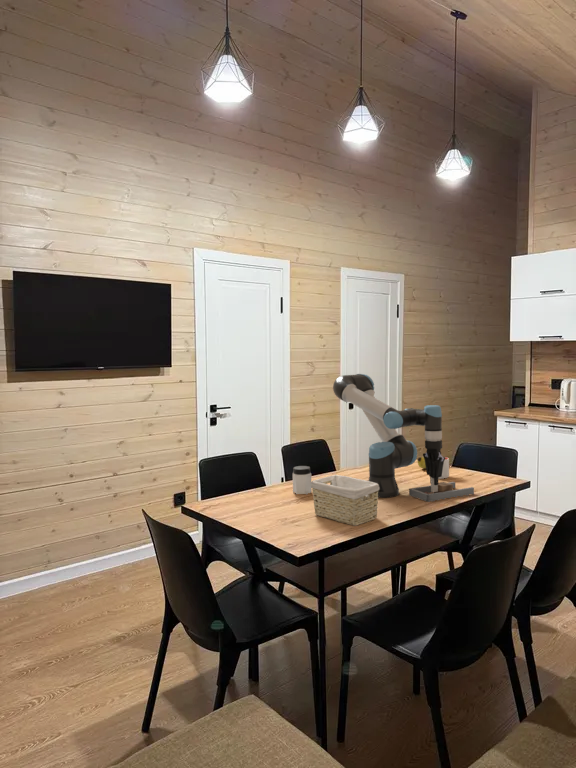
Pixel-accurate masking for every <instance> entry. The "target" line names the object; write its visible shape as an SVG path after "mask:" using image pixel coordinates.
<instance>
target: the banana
mask: <svg viewBox="0 0 576 768" xmlns="http://www.w3.org/2000/svg"><path fill="white" fill-rule="evenodd" d="M416 461H417V464H418V466H419V468H421V469H425V470H426V466H425V460H424V457H420V456H419V457H417V459H416Z"/></svg>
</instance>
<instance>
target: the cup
mask: <svg viewBox="0 0 576 768" xmlns="http://www.w3.org/2000/svg"><path fill="white" fill-rule="evenodd" d="M444 457H445V460H444V464H443V470H442V476H441V477H439V478H438V480H445V479H447V478H449V476H450V458H449V457H446V456H444ZM444 478H445V479H444Z"/></svg>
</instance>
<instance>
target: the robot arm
mask: <svg viewBox="0 0 576 768" xmlns="http://www.w3.org/2000/svg"><path fill="white" fill-rule="evenodd" d="M374 383H375V382H374V380H373V379H372V377H370V376H369V375H368V374H363V373H356V374H345V375H340V376H339V377H338V376H337V378H336V379H335V380H334V382H333V385H332V390H333V394H334V395H335V396H336V397H337V398H338V399H340V400H341V401H343V402H345V403H350V404H352V405H354V406H356V407H358V408H359V409H361V410H362V412H363V413H364V415H365V416H366V418H367V419H368V421H369V422H370V424H371V426H372V428H373V429H374V431H375V432H376V434H377V436H378V437H379V439H380V441H381V442H380V441H378V442H374V443H372V444H371V445H370V446H369V448H368V472H369V473H368V475H369V477H368V480H367V481H370V482H374V483H377V484H379V490H378V498H381V499H383V498H386V499H387V498H393V497H397V496H399V494H400V489H399V486H398V483H397V482H398V481H397V480H396V476H395V473H396V472H395V471H396V470H395V469H400V468H406V467H408V466H410V465H413V464H414V463H415V462H416V461H417V459H418V449H417V446H416V444H415V443H414V442H413V441H411V440H407V439H406V438H405V436H404V434H401V433H398V431H397V429H401V428H406V427H412V426H422V427H424V448H425V449H426V451H425V453H422V456H423V457H422V458H424V460H425V466H426V469H425V470H426V475H428V476H429V479H430V482H429V483H430V485H431V493H434V492H438V483H439V479H438V478H439V477H441V476H442V470H443V464H444V460H445V457H446V456H443V455H442V452H441V450H442V449H443V441H442V439H443V427H442V425H443V419H442V418H443V414H442V407H441V406H440V405H435V404H434V405H433V404H432V405H431V404H429V405H425V406H424V407H423V408H424V409H419V408H412V407H409V408H405V409H404V410H397V409H396V408H394V407H392V406H390V405H388V404H387V403H385V402H383V401H381V400H379V399H377V398H376V396H375V384H374Z"/></svg>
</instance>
